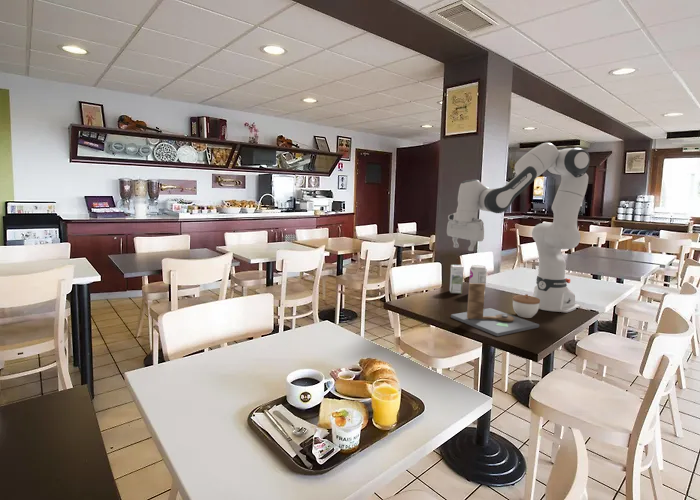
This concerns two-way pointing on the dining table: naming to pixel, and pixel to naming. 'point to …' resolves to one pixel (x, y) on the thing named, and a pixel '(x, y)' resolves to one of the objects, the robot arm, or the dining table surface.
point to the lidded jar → (525, 305)
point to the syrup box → (456, 279)
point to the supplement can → (478, 274)
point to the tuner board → (496, 323)
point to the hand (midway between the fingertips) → (463, 249)
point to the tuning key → (480, 304)
